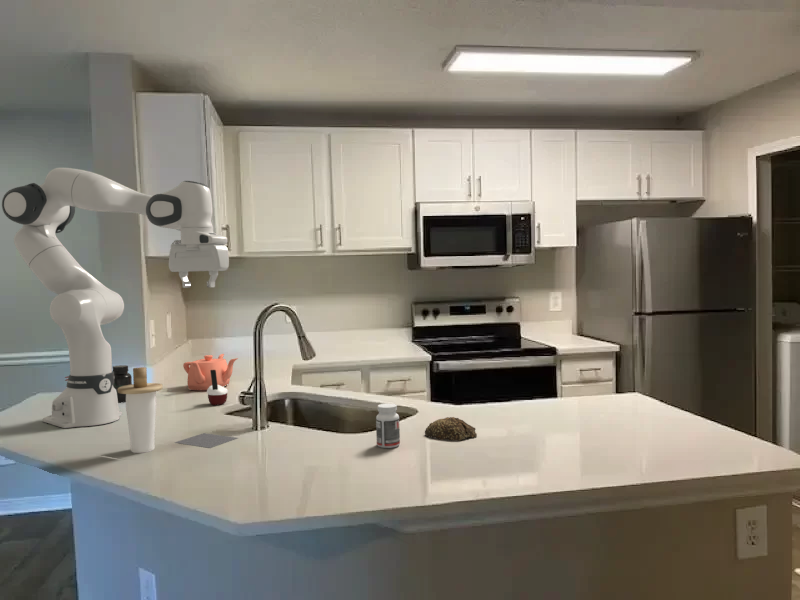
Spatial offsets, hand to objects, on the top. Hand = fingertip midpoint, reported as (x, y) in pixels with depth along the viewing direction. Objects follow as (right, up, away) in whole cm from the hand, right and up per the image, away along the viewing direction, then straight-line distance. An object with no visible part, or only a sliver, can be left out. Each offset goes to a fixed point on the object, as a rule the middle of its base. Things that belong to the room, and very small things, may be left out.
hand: (198, 287), depth 177 cm
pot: (-14, -37, +58) cm, 71 cm away
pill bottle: (+54, -40, -24) cm, 72 cm away
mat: (+8, -40, -18) cm, 44 cm away
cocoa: (-3, -38, +28) cm, 47 cm away
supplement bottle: (-38, -38, +36) cm, 65 cm away
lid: (-5, -25, -27) cm, 37 cm away
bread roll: (+71, -39, -15) cm, 82 cm away
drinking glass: (-5, -41, -26) cm, 48 cm away
